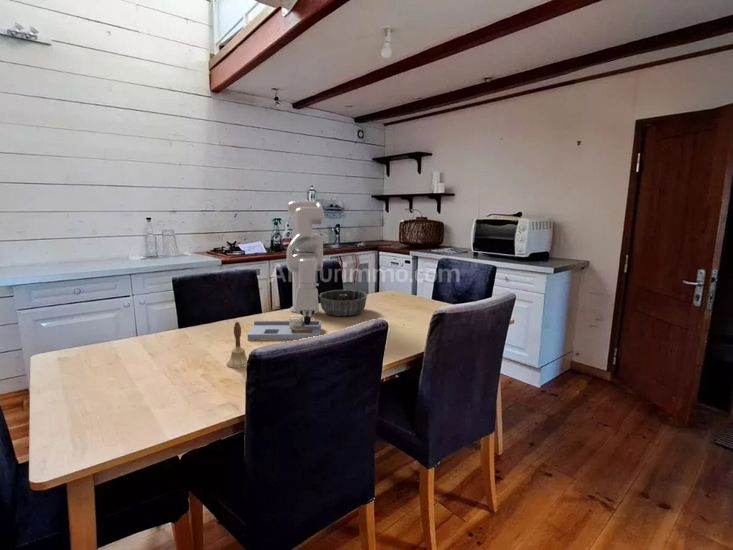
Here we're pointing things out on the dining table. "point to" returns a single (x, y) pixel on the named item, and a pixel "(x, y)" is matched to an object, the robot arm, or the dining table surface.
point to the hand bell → (237, 350)
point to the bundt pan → (343, 302)
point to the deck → (282, 330)
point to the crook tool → (301, 330)
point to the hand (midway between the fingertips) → (307, 324)
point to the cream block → (295, 321)
